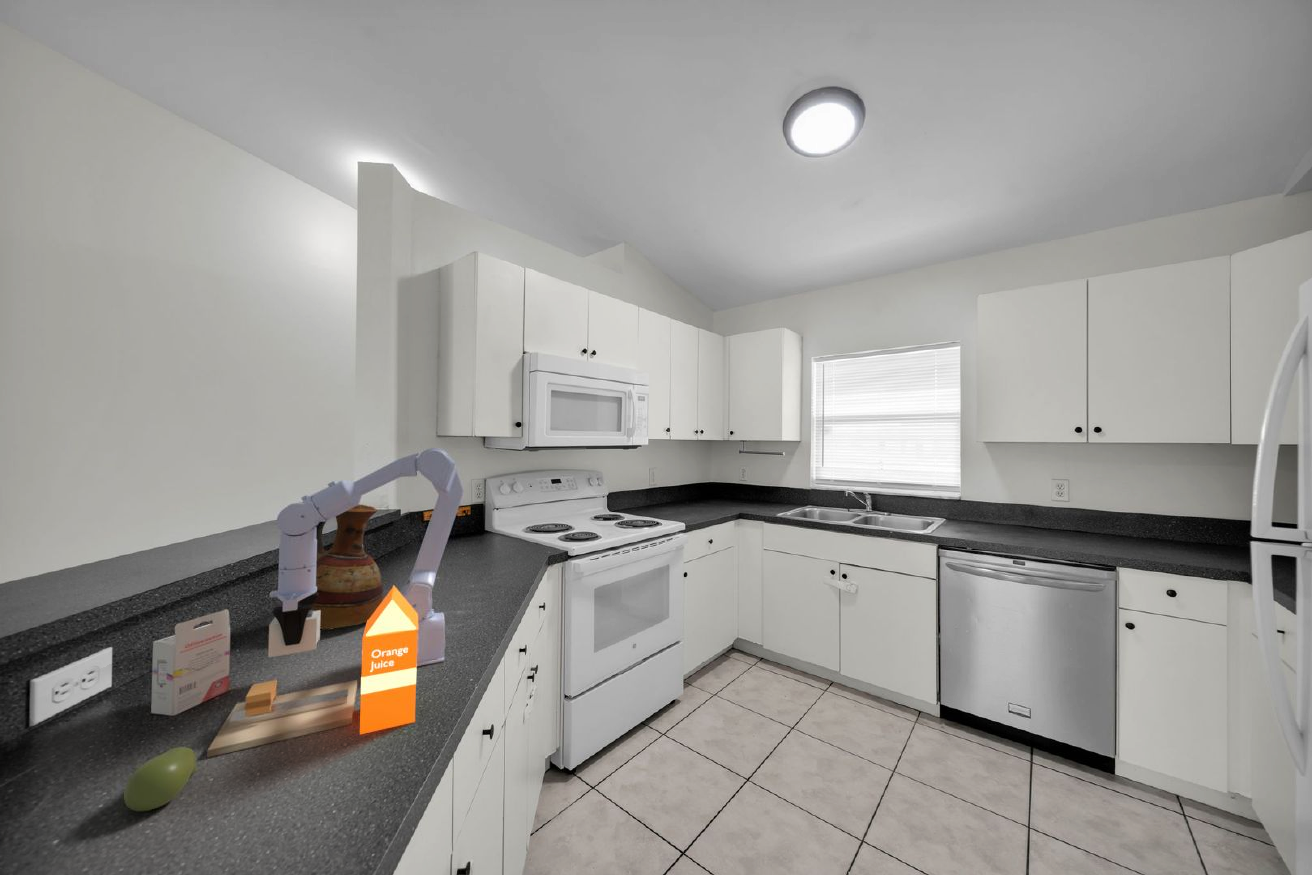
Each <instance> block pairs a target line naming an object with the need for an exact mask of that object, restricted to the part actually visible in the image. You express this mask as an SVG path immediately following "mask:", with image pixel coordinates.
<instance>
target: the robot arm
mask: <svg viewBox="0 0 1312 875" xmlns="http://www.w3.org/2000/svg"><path fill="white" fill-rule="evenodd" d="M418 472H419V473H420V474H421V476H423V477H424V478H425V479H427V480H428V481H429V482H431V484H432V486H433V487H434V489H435V491H436V492H437V494H438V496H437V499H436V502H435V505H434V508H433V511H432V513H431V517H430V519H429V522H428V526H427V529H426V532H425V534H424V537H423V540H422V543H421V545H420V549H419V551H418V555H417V558H416V560H415V563H414V566H413V568H412V570H411V573H410V576H409V578H408V580H406V582H405V583H404V584H403V585H402V586H401V588H400V590H399V592H400V593H401V595H402V596H403V597H404V598H405V599H406V601H407V602H408V603H409V604H410V605H411V607H412V608H413V609H414V610H415V611H416V613H417V614H418V630H417V661H416V663H417V667H420V666H426V665H431V664H435V663H441V662H444V661H445V648H446V638H445V637H446V636H445V634H446V632H445V631H446V624H445V623H446V621H445V613H444V612H435V610H434V608H433V607H432V606H433V598H432V594H433V593H432V592H433V588H434V585H435V580H436V575H437V572H438V570H439V566H440V563H441V561H442V559H443V558H442V557H443V554H444V552H445V548H446V546H447V543H448V540H449V537H450V535H451V531H452V527H453V525H454V522H455V519H456V516H457V513H458V509H459V508H460V504H461V501H462V498H463V496H464V487H463V484H462V482H461V479H460V475H459V472H458V469H457V466H456V462H454V460H453V459H452V458H451V457H450V455H449V454H448V452H446V451H445V450H444V449H441V448H440V447H439V448H438V447H431V448H427V449H425V450H422V452H421V453H419V452H417V453H413V454H410V455H408V456H404V457H401V458H398V459H397V460H394V461H393V462H390V463H389V464H387V465H385V466H382V467H380V468H379V469H376V470H375V471H373V472H371V473H369V474H367V475H365V476H364V477H362V478H360V479H358V480H356V481H353V482H352V481H349V480H343V479H341V480H340V481H338V482H337V480H332V481H330V482H329V483H327V487H325V488H323V489H322V490H321V489H320V490H318V491H317V492H314V493H313V494H311V495H308V494H305V495H303V496H301V497H300V498H301V500H302V501H298V502H295V503H290V504H288V505H287V506H286V507H284V508H283V509H282V510H280V512H279V513H278V515H277V518H276V525H277V527H278V529H279V531H280V536H279V538H280V539H279V540H280V541H279V542H280V543H278V544H279V546H278V547H279V550H278V552H279V553H278V575H277V576H278V579H277V580H278V583H277V590H272V591H270V593H269V598H277V599H278V600H280V602H282V606H275V607H274V608H273V609H272V614H273V616H274V618H275V617H276V619H277V620H278V622H279V624H280V627H281V630H282V634H283V639H284V642H285V645H286V646H289V645H295V644H299V643H300V641H301V638H302V634H303V629H304V624H305V621H306V617H307V615H308V613H309V611H310V610H311V608H312V606H313V603H314V601H315V599H316V598H317V596H318V592H317V586H316V565H317V564H316V562H317V539H316V526H317V525H318V523H319V522H326V523H327V521H329V520H331V519H334V518H336V516H337V515H339V514H341V513H343V512H345V511H347V510H349V509H351V508H353V507H355V506H357V505H358V504H359V505H360V503H361V499H362V496H363V495H366V494H368V493H370V492H372V491H374V490H376V489H378V488H381V487H383V486H384V485H386V484H389V483H391V482H393V481H395V480H397V479H399V478H403V477H405V478H406V477H408V478H409V477H417V475H418Z"/></svg>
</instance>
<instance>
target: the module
mask: <svg viewBox="0 0 1312 875" xmlns="http://www.w3.org/2000/svg"><path fill="white" fill-rule="evenodd" d="M320 614H321V610H318V611H313V610H310V611H309V613H308V615H307V617H306V621H305V624H304V629H303V634H302V638H301V641H300V643H299V644H295V645H289V646H286V645H285V642H284V639H283V634H282V630H281V627H280V624H279V622H278V620H277V619H276V617H275V616H274V618H273V619H272V620H271V622H270V623H269V624H268V625H269V626H268V627H269V628H268V654H267V655H268V656H267V657H268V658H274V657H279V656H280V657H281V656H285V655H291V654H298V653H304V652H311V651H316V650H317V644H318V642H320V640H321V630H320Z"/></svg>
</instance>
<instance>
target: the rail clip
mask: <svg viewBox="0 0 1312 875" xmlns="http://www.w3.org/2000/svg"><path fill="white" fill-rule="evenodd" d="M277 693H278V680H277V679H274V680H270V681H263V682H258V683H253V685H251V687H250V689H249V691H248V693H247V694H246V696H245V702H246V706H245V717H247V716H252V715H257V714H262V713H267V712H270V711H271V703H272V701H273V700H276V697H277V696H278V695H277Z"/></svg>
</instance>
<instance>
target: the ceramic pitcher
mask: <svg viewBox="0 0 1312 875" xmlns="http://www.w3.org/2000/svg"><path fill="white" fill-rule="evenodd" d="M376 513H378V509H376V508H375V507H373V506H370V505H366V504H360V503H359V504H358V505H357V506H355V507H353V508H351V509H349V510H347V511H345V512H343V513H341V514H339V515H337V516H336V517H335V518H336V525H337V526H336V533H335V538H334V542H333V543H332V546H331V547H330V548H329V550H328V551H326V550H325V548H324V544H323V529H324V527H325V524H326V523H327V521H326V522H319V523H318V525H317V526H316V539H317V562H316V564H317V565H316V586H317V592H318V596H317V598H316V599H315V601H314V603H313V606H312V608H311V610H313V611H318V610H321V614H320V629H322V630H323V629H328V630H331V628H337V629H340V628H339V627H342V628H346V627H345V626H349V627H352V626H351V625H353V626H358V625H361V624H363V623H367V620H369V618H370V617H371V616H372V614H373V613H374V612H375V610H376V609H377V608H378V606H379V605H380V604H381V602H382V601H383V600H384V586H383V585H384V584H383V580H382V576H381V571H380V569H379V566H378V564H377V563H376V561H375V560H374V559H373V557H371V556H370V555H369V554H367V553H366V552H365V549H364V545H363V544H364V542H363V541H364V536H365V533H366V527H367V524H368V522H369V520H370V519H371V518H372V517H373V516H374V515H375V514H376Z"/></svg>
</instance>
